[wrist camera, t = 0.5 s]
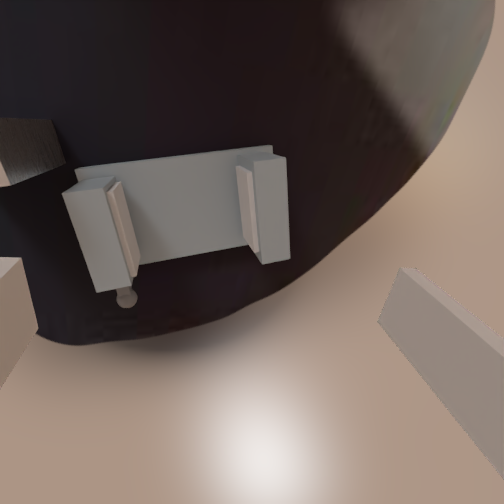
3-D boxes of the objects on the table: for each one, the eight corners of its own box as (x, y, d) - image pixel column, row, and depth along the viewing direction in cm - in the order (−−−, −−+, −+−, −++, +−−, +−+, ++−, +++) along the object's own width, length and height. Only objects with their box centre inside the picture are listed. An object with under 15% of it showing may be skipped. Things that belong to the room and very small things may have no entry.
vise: (78, 167, 30) (50, 181, 23) (273, 144, 34) (302, 149, 27) (112, 275, 35) (98, 314, 28) (278, 243, 39) (305, 271, 32)
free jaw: (82, 179, 29) (61, 193, 23) (120, 175, 30) (109, 187, 24) (118, 294, 34) (109, 328, 29) (150, 287, 35) (147, 320, 29)
